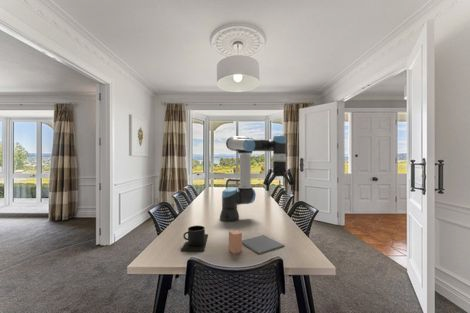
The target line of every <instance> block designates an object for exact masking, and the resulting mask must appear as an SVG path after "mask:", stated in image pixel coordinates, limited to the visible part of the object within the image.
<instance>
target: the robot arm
mask: <svg viewBox="0 0 470 313" xmlns="http://www.w3.org/2000/svg"><path fill="white" fill-rule="evenodd" d="M272 138H273V139H265V138H262V139H259V138H253V137H251V136H237V135H236V136H235V135H234V136H230V137H229V138H227V140H226V142H225V146H226V148H227V149H228V150H230V151H234V152H237V154H238V155H239V186H238V187H233V188H232V187H230V188H224V189H223V190H222V193H221V211H220V214H219V220H220V221H222V222H227V223H228V222H229V223H231V222H236V221H239V220H240V214H239V212H238V206H240V205H249V204H253V203H254V202H255V200H256V196H257V194H256V190H255V189H254V188H253V186H252V184H251V182H252V178H251V177H252V176H251V175H252V174H251V155H252V154H253V152H272V154H273V155H272V159H273V162H272V163H273V164H272V168H273V169H272V168H268V170H267V174H266V177H265V178H264V180H263V183H262V184H263V185H264V186H265V189H266V190H265V191H266V193H267V197H268V198H269V197H271V196H272V195H271V192H272V190H271V189H272V188H271V184H272V183H273V181H274V180H275V179H276V178H277V177H283V179H285V181H286V182H287V193H286V194H287V196H291V195H292V190H293V185H294V184H296V181H295V180H294V177H293V175H292V174H293V173H292V172H291V168H286V167H287V162H286V160H287V154H286V153H287V139H286V138H287V137H286V135H281V134H279V135H278V134H277V135H273V137H272ZM272 173H273V174H272Z"/></svg>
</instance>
